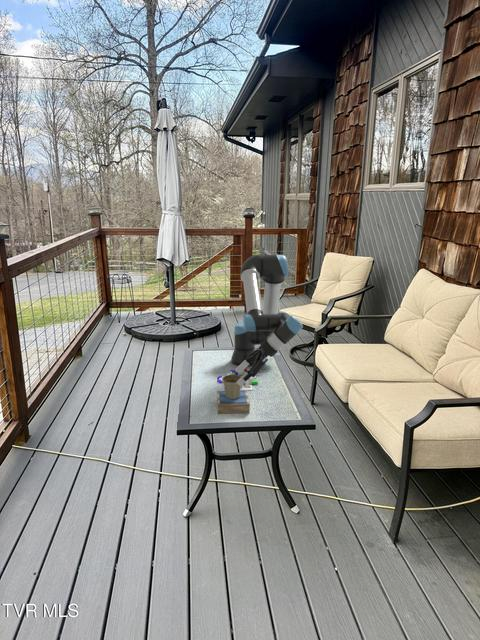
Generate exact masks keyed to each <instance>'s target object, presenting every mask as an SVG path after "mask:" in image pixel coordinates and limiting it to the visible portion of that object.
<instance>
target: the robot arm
mask: <svg viewBox="0 0 480 640" xmlns="http://www.w3.org/2000/svg"><path fill="white" fill-rule="evenodd" d="M288 264H289V263H288V259H287V257H286V256H285V255H284V254H254V255H252V256H250V257H248V258H247V259H246V260H245V261H244V262H243V263H242V265H241V269H240V271H239V273H240V274H239V275H240V279H241V281H242V284H243V291H244V292H243V293H244V300H245V309H246V310H245V311H246V314H244V316H243V319H242V320H243V321H240V322H238V323H236V324H235V325H234V330H233V331H234V332H233V334H234V342H233V343H234V348H233V352H232V356H231V364H232V365H234V366H236V368H235V369H234V370H236V372H238V373H239V374H240V373H241V372H242V371H244V369H247V367H250V369H249V370H248V371H247V372H246V373H245V374H244V375H243V376H242V377H241V378H240V379H239V380H238V381H237V382H236V383H237V384H239V385H240V386H241V387H242V385H243V384H244V383H245V382H246V381H247V380H249V379H250V378H251V377H255V376H256V375H258V373H259V372H260V371H261V369H262V367H264V365H265V364H266V363H267V362H268V361H269V359H268V356H269V357H270V358H273V357H274V356H275V355H276V354H277V353H278V351H280V350H281V349H283V348H285V345H287V344H288V342H290V341H291V340H292V339H294V337H296V335H297V334H299V332H301V330H302V329H303V328H304V326H303V324H302V323H301V321H300V320H299V319H297V317H296V316H294V315H290V314H288V312H286V311H279V310H280V309H279V308H280V298H281V296H280V295H281V288H282V287H281V286H282V285H283V283H284V282H285V278H288V277H289V265H288ZM259 279H261V280H262V282H264V289H263V290H264V291H263V301H262V295H261V290H260V289H261V287H260V281H259ZM257 345H260V346H258V347H257V348H256V349H255V346H257ZM256 377H257V376H256Z"/></svg>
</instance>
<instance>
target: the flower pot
mask: <svg viewBox="0 0 480 640" xmlns="http://www.w3.org/2000/svg"><path fill="white" fill-rule="evenodd" d="M223 376H224V377H223V378H222V381H223V382H222V384H223V387H224V391H225V394H226V397H227V398H229V399H236V398H239V396H240V390H242V386H240V385H239V384H237V383H236V382H237V381H238V380H239V379H240V378H241V377H242V376H241V375H227V374H226V375H223Z"/></svg>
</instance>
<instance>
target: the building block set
mask: <svg viewBox="0 0 480 640" xmlns="http://www.w3.org/2000/svg"><path fill="white" fill-rule="evenodd" d="M247 371H249V370H248V369H247V368H245V369H244V370H243V371H242V372H241V373H240V374H239V373H238V372H237V371H236V370H235V369H231V370H230V373H228V372H227V373H226V375H239V376H243V375H244V374H245V373H246V372H247ZM224 376H225V375H219V376H217V381H216V382H217V383H218V384H223V381H222V378H223V377H224ZM256 378H257V376H255V377H251V378H250V379H249V380H247V381H246V382H245V383H244V384H243V385H242V386H241V390H247V392H249V391H250V392H252V391H253V385H254V386H258V385H259V384H258V381H259V380H257V379H256Z"/></svg>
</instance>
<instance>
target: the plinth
mask: <svg viewBox="0 0 480 640" xmlns="http://www.w3.org/2000/svg"><path fill="white" fill-rule="evenodd" d="M248 392H249V391H247V390H242V389H240V396H239V398H236V399H229V398H227V397H226V394H225V390H217V391H216V399H217V400H216V402H217V405H216V406H217V407H216V408H217V415H247V414H250V411H251V410H250V407H251V406H250V398H249V394H248Z"/></svg>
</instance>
